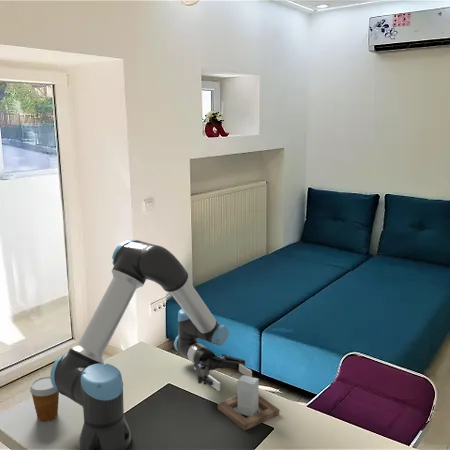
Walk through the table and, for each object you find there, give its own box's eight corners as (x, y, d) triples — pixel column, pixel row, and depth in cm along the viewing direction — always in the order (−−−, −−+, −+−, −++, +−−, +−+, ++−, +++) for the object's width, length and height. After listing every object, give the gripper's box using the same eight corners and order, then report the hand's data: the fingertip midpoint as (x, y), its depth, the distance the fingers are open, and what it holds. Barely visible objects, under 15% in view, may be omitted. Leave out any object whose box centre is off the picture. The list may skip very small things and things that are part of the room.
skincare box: (258, 410, 165) (259, 378, 163) (253, 417, 162) (254, 384, 159) (242, 406, 168) (242, 374, 165) (236, 412, 164) (237, 380, 162)
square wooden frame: (244, 430, 155) (244, 425, 154) (217, 409, 166) (217, 403, 166) (279, 414, 163) (279, 409, 163) (251, 395, 175) (251, 390, 174)
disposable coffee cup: (30, 426, 156) (27, 392, 154) (33, 410, 165) (30, 377, 163) (62, 422, 159) (59, 388, 156) (63, 405, 168) (61, 373, 165)
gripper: (228, 356, 194) (263, 379, 177) (173, 375, 179) (205, 402, 163) (228, 339, 192) (263, 360, 175) (172, 356, 178) (205, 381, 161)
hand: (235, 380), depth 169 cm, fingers open, 13 cm apart
